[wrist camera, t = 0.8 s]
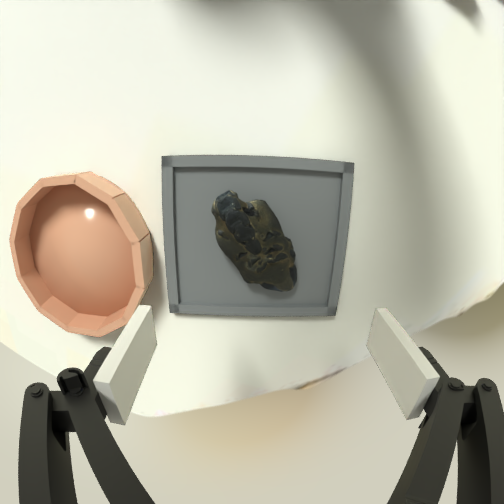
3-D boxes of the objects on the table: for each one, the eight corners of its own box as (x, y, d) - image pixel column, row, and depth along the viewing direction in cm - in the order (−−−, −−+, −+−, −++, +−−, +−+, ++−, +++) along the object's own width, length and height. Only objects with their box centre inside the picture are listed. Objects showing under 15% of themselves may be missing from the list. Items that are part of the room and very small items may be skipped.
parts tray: (164, 156, 30) (161, 156, 29) (350, 162, 31) (354, 162, 29) (171, 307, 36) (169, 312, 35) (333, 310, 36) (335, 315, 35)
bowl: (21, 179, 30) (2, 184, 26) (149, 167, 30) (136, 169, 26) (44, 311, 36) (30, 324, 32) (160, 325, 37) (152, 343, 33)
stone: (262, 300, 35) (265, 324, 30) (195, 209, 31) (186, 221, 26) (311, 270, 34) (322, 291, 29) (248, 173, 30) (249, 178, 25)
